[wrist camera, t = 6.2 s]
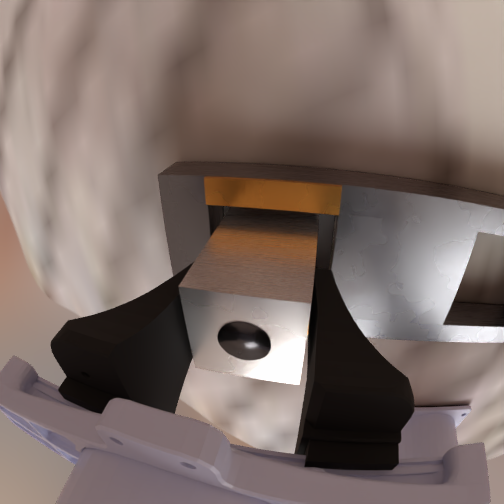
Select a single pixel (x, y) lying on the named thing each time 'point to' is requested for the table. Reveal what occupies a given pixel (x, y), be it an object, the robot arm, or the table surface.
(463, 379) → the table surface
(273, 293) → the drilled metal block
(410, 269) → the rail
